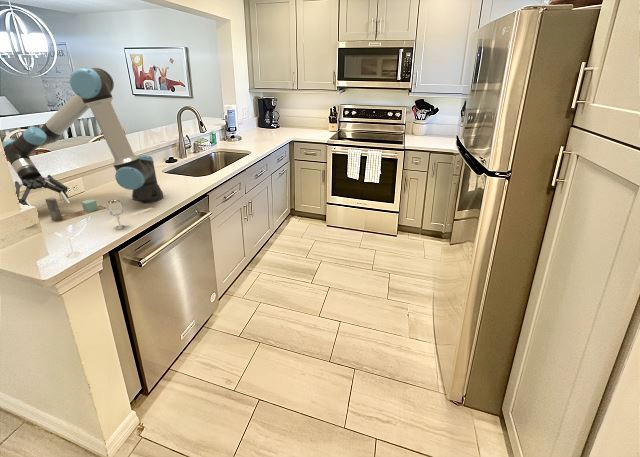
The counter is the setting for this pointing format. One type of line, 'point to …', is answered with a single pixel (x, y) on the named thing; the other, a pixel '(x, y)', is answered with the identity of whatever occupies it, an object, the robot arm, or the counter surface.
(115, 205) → the wineglass
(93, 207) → the cube
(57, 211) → the mallet
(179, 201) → the counter surface
